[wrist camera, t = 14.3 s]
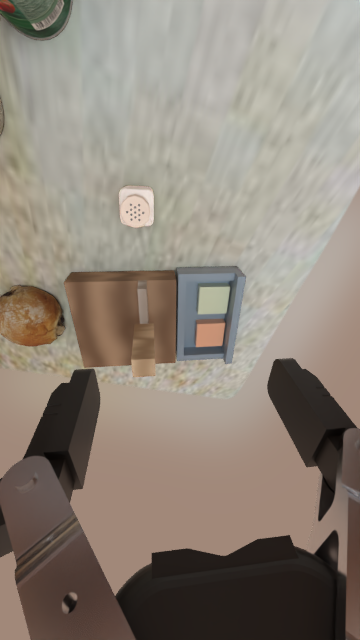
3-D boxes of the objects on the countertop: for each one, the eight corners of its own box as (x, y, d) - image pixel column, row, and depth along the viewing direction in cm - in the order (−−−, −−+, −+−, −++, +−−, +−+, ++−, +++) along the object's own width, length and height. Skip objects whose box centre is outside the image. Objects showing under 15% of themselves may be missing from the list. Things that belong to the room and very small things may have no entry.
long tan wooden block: (139, 355, 43) (136, 407, 34) (132, 280, 36) (126, 319, 27) (155, 354, 44) (156, 405, 34) (152, 280, 36) (152, 318, 27)
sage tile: (226, 313, 43) (224, 308, 44) (230, 286, 40) (227, 282, 41) (197, 314, 42) (196, 309, 44) (199, 287, 40) (198, 283, 41)
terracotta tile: (222, 345, 46) (220, 340, 48) (225, 323, 44) (223, 318, 45) (195, 347, 46) (194, 341, 47) (197, 324, 43) (195, 319, 45)
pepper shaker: (124, 216, 35) (117, 231, 27) (123, 184, 33) (114, 190, 25) (153, 218, 36) (154, 232, 28) (153, 186, 34) (154, 192, 25)
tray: (175, 350, 49) (177, 366, 45) (176, 267, 40) (179, 278, 36) (225, 348, 50) (231, 363, 46) (237, 266, 41) (246, 276, 37)
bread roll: (49, 273, 42) (11, 272, 34) (82, 324, 43) (53, 335, 35) (8, 303, 44) (-37, 309, 36) (41, 351, 45) (4, 367, 37)
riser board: (89, 353, 47) (84, 367, 43) (71, 272, 38) (63, 282, 35) (173, 348, 48) (175, 362, 45) (174, 270, 40) (176, 279, 37)
